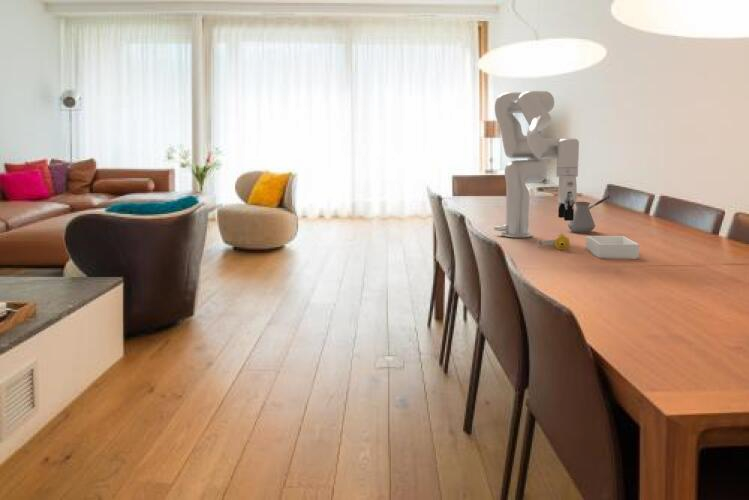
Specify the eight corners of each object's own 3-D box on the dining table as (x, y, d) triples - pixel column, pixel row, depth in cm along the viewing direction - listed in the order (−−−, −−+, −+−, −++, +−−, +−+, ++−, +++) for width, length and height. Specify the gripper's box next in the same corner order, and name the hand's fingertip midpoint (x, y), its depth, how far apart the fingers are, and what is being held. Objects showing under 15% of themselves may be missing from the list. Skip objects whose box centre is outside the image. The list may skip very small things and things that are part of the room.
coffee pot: (579, 234, 261) (581, 199, 259) (561, 230, 272) (563, 197, 269) (618, 231, 269) (620, 197, 267) (599, 227, 280) (601, 194, 277)
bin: (598, 258, 212) (599, 244, 211) (585, 248, 229) (586, 235, 228) (638, 258, 211) (639, 244, 210) (622, 249, 228) (623, 236, 227)
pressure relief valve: (570, 245, 234) (570, 250, 225) (538, 249, 238) (536, 254, 228) (568, 231, 233) (568, 236, 224) (536, 235, 237) (534, 240, 228)
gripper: (583, 173, 216) (581, 221, 219) (572, 171, 233) (570, 216, 236) (561, 173, 216) (560, 221, 219) (551, 171, 233) (550, 216, 236)
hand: (565, 218), depth 227 cm, fingers open, 9 cm apart
